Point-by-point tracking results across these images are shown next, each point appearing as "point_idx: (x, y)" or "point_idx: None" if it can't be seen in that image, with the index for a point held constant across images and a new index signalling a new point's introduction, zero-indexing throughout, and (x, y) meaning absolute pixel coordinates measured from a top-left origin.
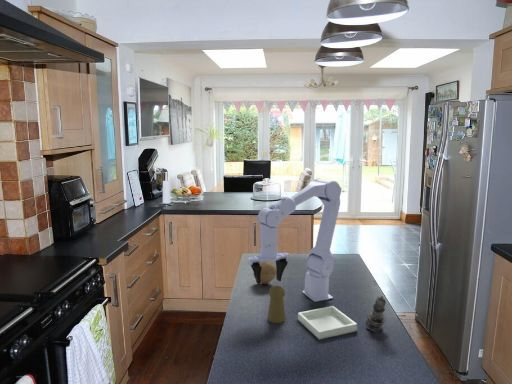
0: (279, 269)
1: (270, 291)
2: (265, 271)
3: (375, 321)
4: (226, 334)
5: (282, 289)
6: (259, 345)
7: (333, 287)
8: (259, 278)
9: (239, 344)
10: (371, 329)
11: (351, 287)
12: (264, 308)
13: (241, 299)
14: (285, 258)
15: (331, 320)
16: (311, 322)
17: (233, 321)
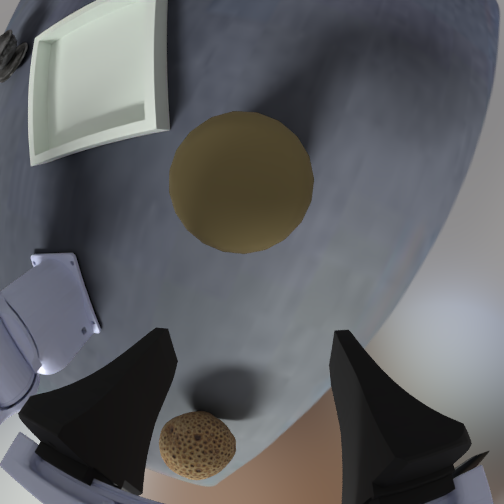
0: (126, 402)
1: (310, 175)
2: (200, 445)
3: (6, 33)
4: (475, 137)
5: (190, 143)
6: (395, 16)
7: None
8: (360, 359)
9: (452, 58)
10: (25, 45)
11: None
12: (273, 274)
13: (325, 362)
14: (41, 458)
15: (69, 96)
16: (131, 87)
17: (432, 214)
